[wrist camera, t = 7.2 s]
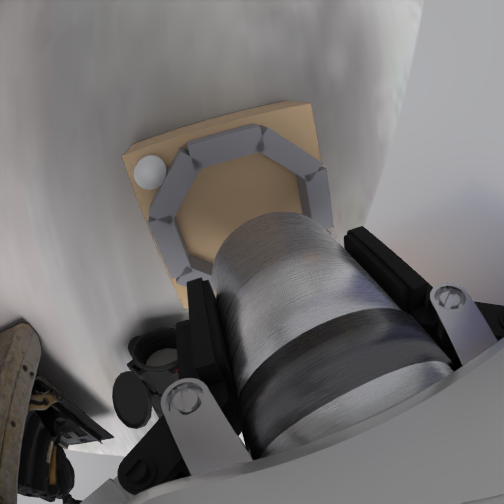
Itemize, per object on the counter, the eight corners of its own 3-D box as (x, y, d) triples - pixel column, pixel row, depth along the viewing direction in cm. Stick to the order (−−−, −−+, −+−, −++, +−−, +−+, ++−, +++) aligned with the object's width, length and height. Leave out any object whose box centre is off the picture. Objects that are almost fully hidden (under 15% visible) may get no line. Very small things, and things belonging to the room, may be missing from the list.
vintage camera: (61, 420, 29) (61, 565, 12) (-29, 339, 20) (-75, 512, 4) (119, 405, 29) (134, 574, 13) (22, 311, 21) (-27, 538, 4)
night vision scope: (201, 405, 34) (142, 455, 28) (164, 287, 26) (68, 350, 19) (252, 437, 30) (192, 498, 23) (234, 322, 22) (124, 413, 15)
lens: (190, 234, 11) (225, 462, 4) (329, 192, 11) (498, 335, 4) (230, 337, 13) (278, 513, 6) (340, 299, 14) (438, 443, 7)
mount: (132, 144, 17) (116, 162, 13) (286, 100, 18) (323, 104, 14) (181, 275, 23) (185, 324, 18) (310, 234, 23) (343, 272, 19)
